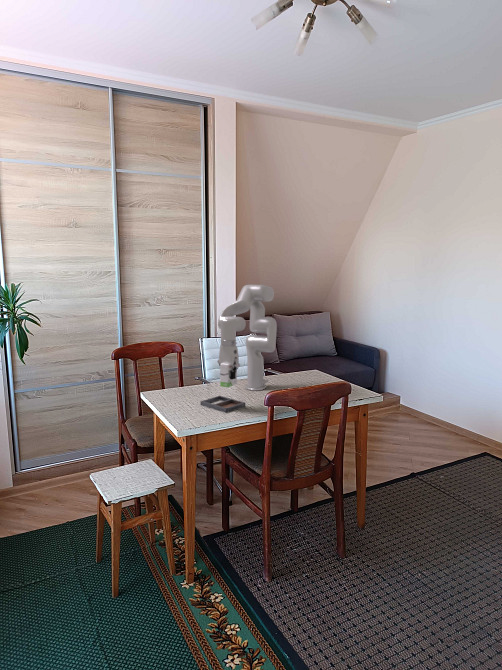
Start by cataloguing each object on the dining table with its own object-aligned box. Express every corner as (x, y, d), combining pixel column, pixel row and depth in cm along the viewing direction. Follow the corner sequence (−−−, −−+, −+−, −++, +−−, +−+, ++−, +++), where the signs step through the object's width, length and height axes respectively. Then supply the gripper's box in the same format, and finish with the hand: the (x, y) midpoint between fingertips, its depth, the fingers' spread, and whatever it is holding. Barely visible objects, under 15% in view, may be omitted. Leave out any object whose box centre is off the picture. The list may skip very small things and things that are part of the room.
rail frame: (219, 399, 255) (219, 395, 255) (245, 406, 242) (245, 402, 242) (200, 405, 245) (200, 401, 244) (226, 412, 232) (226, 408, 232)
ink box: (227, 387, 234) (227, 364, 232) (219, 386, 236) (219, 363, 235) (237, 384, 241) (237, 361, 239) (229, 382, 244) (229, 360, 242)
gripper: (245, 344, 232) (245, 379, 235) (221, 340, 244) (222, 374, 247) (235, 345, 227) (235, 382, 230) (211, 341, 238) (211, 376, 241)
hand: (228, 377), depth 238 cm, fingers closed on ink box, 5 cm apart
